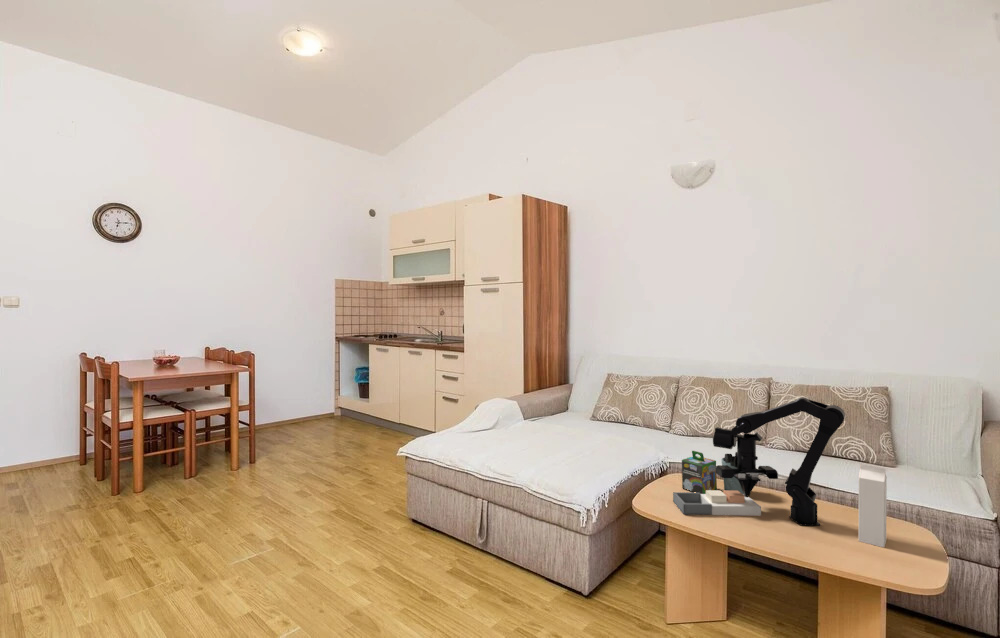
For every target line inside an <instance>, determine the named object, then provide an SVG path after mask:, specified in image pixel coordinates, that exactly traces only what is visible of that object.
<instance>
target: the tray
mask: <svg viewBox="0 0 1000 638" xmlns="http://www.w3.org/2000/svg"><path fill="white" fill-rule="evenodd" d="M672 496H673V497H672V502H674V503H675V504H676V505H677V506H676V505H675V504H674V503H673V504H674V505H675V506H676V507H677V508H678V510H679V509H680V510H679V511H680V512H681V514H683V515H684V516H713V515H712V504H702V503H701V502H700V493H694V492H691V491H688V492H683V491H682V492H681V491H680V492H676V491H675V492H673V493H672Z"/></svg>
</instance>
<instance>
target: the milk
mask: <svg viewBox="0 0 1000 638" xmlns="http://www.w3.org/2000/svg"><path fill="white" fill-rule="evenodd" d="M886 471H887V470H886V468H884V467H881V466H880V467H879V466H878V467H877V466H873V465H868V464H860V465H859V473H858V542H861V543H865V544H868V545H873V546H875V547H876V546H877V547H880V548H885V546H886V543H887V487H888V486H887V478H888V477H887V474H886Z"/></svg>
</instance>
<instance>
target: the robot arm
mask: <svg viewBox="0 0 1000 638" xmlns="http://www.w3.org/2000/svg"><path fill="white" fill-rule="evenodd" d="M801 412H803V413H806V414H808V415H810V416H812V417H815V418H816V419H819V420H820V421H819V424H818V428H817V432H816V435H815V437H814V438H813V440H812V442H811V444H810V446H809V449H808V450H807V453H806V454H805V456H804V458H803V461H802V463H801V464H800V466H799V468H797V469H794V468H792V469H790V472H789V475H788V477H787V478H786V480H785V481H784V485H785V492H786V493H787V494H788V496H789V497H790V498H791V499H792V500H791V505H790V515H788V517H789V518H790V519H791V520H792V521H793V522H795V523H796V524H797V525H799V526H818V527H819V526H821V522H819V521H818V503H817V502H815V501H816V498H817V495H818V494H817V493H816V492H815V491H814V490H813V489H811V487H810V486H811V485H810V484H811V481H812V476H813V473H814V471H815V469H816V466H817V464H818V462H819V461H820V458H821V456H822V455H823V452H824V451H825V448H826V446H827V444H828V443H829V441H830V439H831V437H832V436H833V435H834V434H835V433H836V431H838V429H839V428H840V426H842V425H843V423H844V421H845V418H846V412H845V410H844V409H843V408H842V407H841V406H839V405H837V404H831V405H828V404H825V403H822V402H819V401H816V400H812V399H810V398H807V397H799V398H798V399H796V400H792V401H790V402H787V403H784V404H781V405H779V406H775V407H772V408H769V409H767V410H764V411H756V412H750V413H745V414H742V415H741V416H739V417H738V418H737V419H736V421H735V426H734V427H732V428H731V429H730V428H729V429H728V428H722V427H718V426H717V427H715V428H714V433H713V438H712V444H713V447H714V448H722V449H727V450H732V449H733V448H735V447H736V451H735V453H734V454H735V455H734V456H733V454H732V453H725V454H724V457H725V462H726V463H730V465H731V466H734V467H737V469H732V468H730V467H729V466H728V465H722V464H721V465H718V464H717V465H716V475H718V476H719V477H720V478H722V479H724V478H733V477H735V478H736V479H738V481H739V483H740V485H741V488H742V491H743V494H744V496H745V497H749V496H750V494H751V493H752V491H753V489H754V488H755V486H756V485H757V483H758V482H761V478H760V477H759V476H766V477H767V478H768V479H769V480H778V479H779V472H778V471H777V470H776V469H775V468H773V467H772V466H770V465H759V466H758V467H757V462H756V461H758V459H759V458H758V456H757V442H761V441H762V440H763V436H761V435H760V434H759V432H755V433H752V432H754V431H756V430H757V429H759V428H762V426H764V425H766V424H768V423H771V422H773V421H777V420H781V419H783V418H786V417H790V416H793V415H796V414H798V413H801ZM742 433H743V434H742Z"/></svg>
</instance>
